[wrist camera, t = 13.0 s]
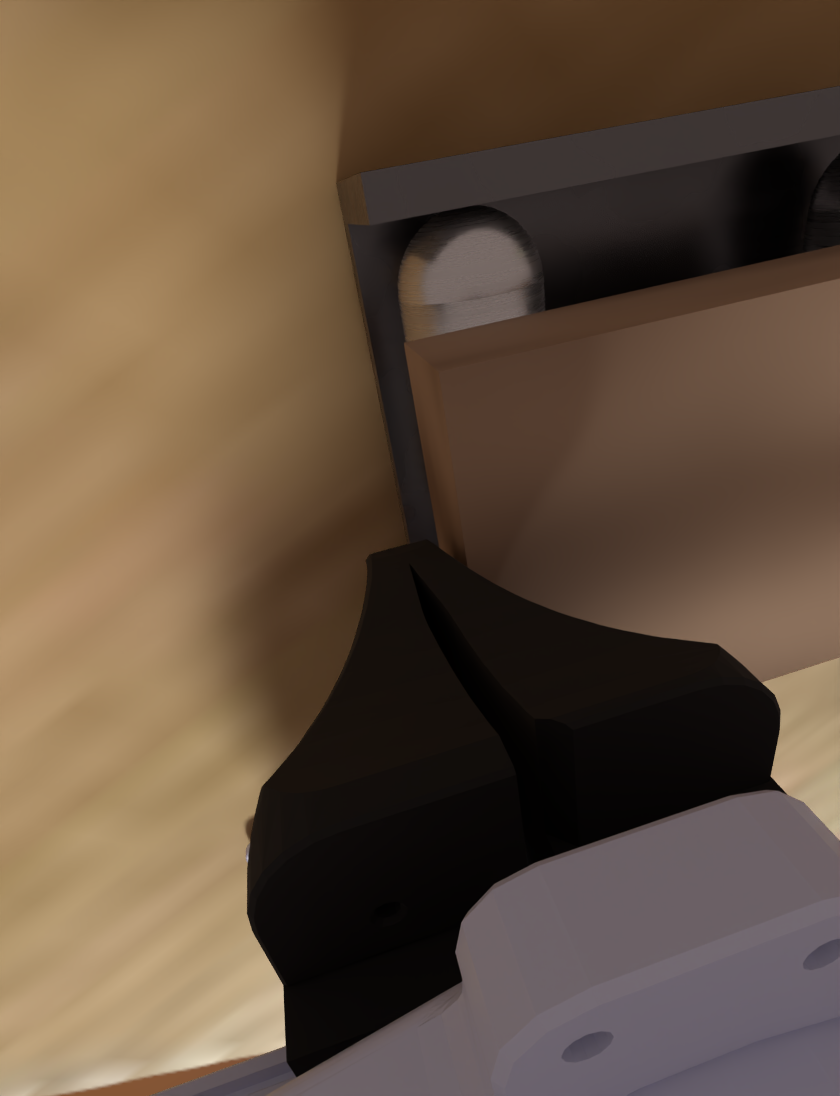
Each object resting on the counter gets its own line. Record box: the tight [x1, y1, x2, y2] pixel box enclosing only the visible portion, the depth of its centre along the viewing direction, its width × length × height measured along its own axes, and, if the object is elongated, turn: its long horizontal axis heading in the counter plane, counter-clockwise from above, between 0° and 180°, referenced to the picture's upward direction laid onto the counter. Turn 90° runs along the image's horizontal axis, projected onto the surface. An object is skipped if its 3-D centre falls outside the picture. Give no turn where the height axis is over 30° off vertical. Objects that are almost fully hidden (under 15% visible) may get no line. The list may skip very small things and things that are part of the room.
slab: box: [404, 245, 840, 682], centre depth 14 cm, size 9×18×2 cm, turn 100°
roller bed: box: [336, 86, 840, 547], centre depth 16 cm, size 15×14×4 cm
